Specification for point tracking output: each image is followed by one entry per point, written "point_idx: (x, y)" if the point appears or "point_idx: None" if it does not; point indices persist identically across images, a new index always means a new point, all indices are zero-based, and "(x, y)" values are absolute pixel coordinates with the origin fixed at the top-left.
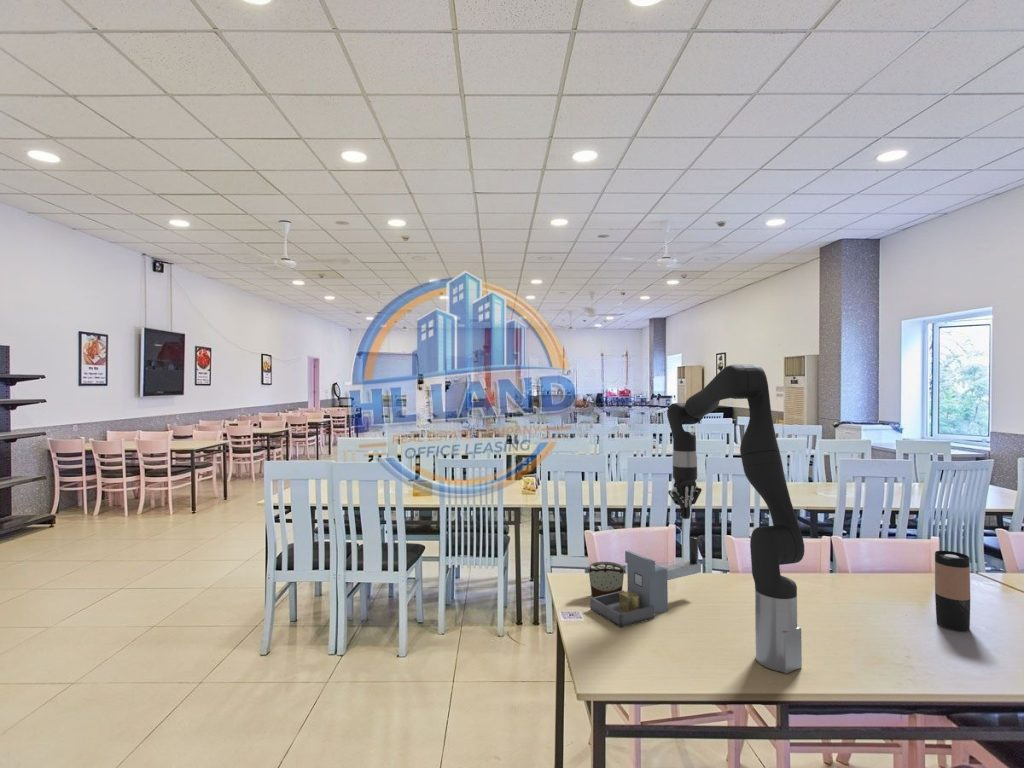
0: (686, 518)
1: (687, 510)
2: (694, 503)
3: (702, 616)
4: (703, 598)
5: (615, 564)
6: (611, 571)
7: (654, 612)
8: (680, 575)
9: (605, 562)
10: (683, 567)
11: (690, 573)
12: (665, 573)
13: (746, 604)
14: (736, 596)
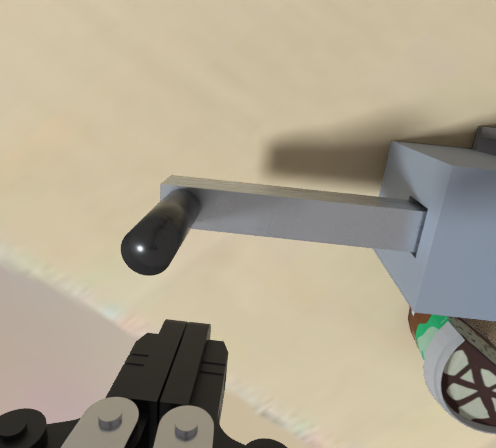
0: (206, 324)
1: (177, 375)
2: (13, 417)
3: (336, 39)
4: (204, 138)
5: (439, 386)
6: (489, 358)
7: (453, 147)
8: (291, 189)
9: (456, 416)
10: (272, 195)
11: (231, 182)
12: (456, 163)
13: (117, 12)
14: (90, 81)
